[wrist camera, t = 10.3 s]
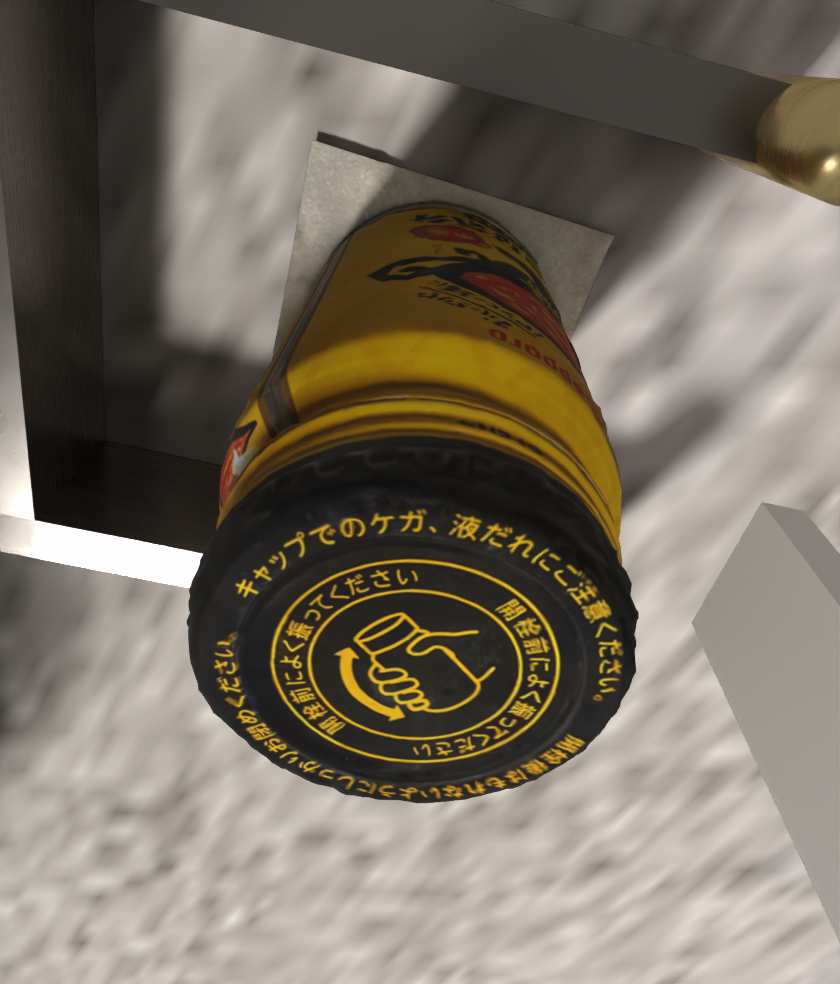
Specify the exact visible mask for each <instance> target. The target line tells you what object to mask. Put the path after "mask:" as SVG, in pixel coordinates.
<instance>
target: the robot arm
mask: <svg viewBox="0 0 840 984" xmlns="http://www.w3.org/2000/svg"><path fill="white" fill-rule="evenodd" d="M692 625H693V627H694V629H695V631H696V633H697V635H698V638H699V640H700V642H701V644H702V646H703V648H704V651H705V653H706V655H707V657H708V659H709V661H710V663H711V666H712V668H713V670H714V672H715V674H716V676H717V679H718V681H719V683H720V685H721V687H722V689H723V692H724V694H725V696H726V698H727V700H728V702H729V704H730V707H731V709H732V711H733V713H734V715H735V717H736V720H737V722H738V724H739V726H740V728H741V730H742V733H743V735H744V737H745V739H746V741H747V743H748V746H749V748H750V750H751V752H752V754H753V756H754V758H755V761H756V763H757V765H758V767H759V769H760V771H761V774H762V776H763V778H764V780H765V782H766V784H767V787H768V789H769V791H770V793H771V795H772V797H773V799H774V802H775V804H776V806H777V808H778V810H779V812H780V815H781V817H782V819H783V821H784V823H785V825H786V828H787V830H788V832H789V834H790V836H791V838H792V841H793V843H794V845H795V847H796V849H797V851H798V853H799V856H800V858H801V860H802V862H803V864H804V866H805V869H806V871H807V873H808V875H809V877H810V879H811V882H812V884H813V886H814V888H815V890H816V892H817V894H818V897H819V899H820V901H821V903H822V905H823V907H824V910H825V912H826V914H827V916H828V918H829V920H830V923H831V925H832V927H833V929H834V931H835V933H836V936H837V938H838V940H839V942H840V554H839V553H838V552H837V550H836V549H835V548H834V547H833V546H832V544H831V543H830V542H829V541H828V539H827V538H826V537H825V536H824V535H823V533H822V532H821V531H820V530H819V529H818V527H817V526H816V525H815V524H814V523H813V521H812V520H811V519H810V518H809V516H808V515H807V514H806V513H805V512H804V511H801V510H797V509H792V508H787V507H782V506H777V505H773V504H768V503H763V502H762V503H761V504H760V506H759V508H758V510H757V511H756V513H755V515H754V516H753V518H752V520H751V522H750V523H749V525H748V527H747V529H746V530H745V532H744V534H743V535H742V537H741V539H740V541H739V542H738V544H737V546H736V547H735V549H734V551H733V553H732V554H731V556H730V558H729V559H728V561H727V563H726V565H725V566H724V568H723V570H722V571H721V573H720V575H719V577H718V578H717V580H716V582H715V583H714V585H713V587H712V589H711V590H710V592H709V594H708V595H707V597H706V599H705V601H704V602H703V604H702V606H701V607H700V609H699V611H698V613H697V614H696V616H695V618H694V619H693V621H692Z"/></svg>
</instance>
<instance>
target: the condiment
mask: <svg viewBox="0 0 840 984" xmlns="http://www.w3.org/2000/svg"><path fill="white" fill-rule="evenodd" d="M614 237H615V236H613V235H610V234H607V233H604V232H601V231H598V230H594V229H591V228H588V227H585V226H582V225H579V224H576V223H572V222H569V221H567V220H565V219H561V218H558V217H554V216H551V215H548V214H545V213H542V212H539V211H536V210H533V209H530V208H527V207H524V206H521V205H518V204H515V203H511V202H508V201H505V200H502V199H499V198H496V197H493V196H490V195H487V194H483V193H480V192H477V191H474V190H471V189H467V188H464V187H461V186H458V185H454V184H451V183H448V182H445V181H442V180H438V179H435V178H432V177H429V176H426V175H423V174H420V173H416V172H413V171H410V170H407V169H404V168H400V167H397V166H394V165H391V164H389V163H384V162H378V161H376V160H373V159H370V158H367V157H364V156H361V155H358V154H355V153H351V152H348V151H345V150H342V149H339V148H336V147H333V146H330V145H326V144H323V143H320V142H317V141H314V140H312V142H311V148H310V153H309V159H308V165H307V171H306V176H305V182H304V188H303V193H302V199H301V205H300V211H299V217H298V223H297V228H296V233H295V238H294V243H293V250H292V256H291V262H290V267H289V272H288V278H287V283H286V287H285V295H284V300H283V305H282V310H281V315H280V319H279V326H278V331H277V336H276V340H275V345H274V352H273V358H272V362H271V363H270V365H269V367H268V369H267V370H266V372H265V373H264V376H263V377H262V379H261V380H260V382H259V384H258V385H257V387H256V388H255V390H254V392H253V393H252V395H251V396H250V397H249V399H248V400H247V404H246V406H245V408H244V410H243V412H242V414H241V415H240V417H239V418H238V420H237V421H236V424H235V427H234V430H233V432H232V434H231V437H230V444H229V447H228V450H227V452H226V455H225V458H224V462H223V466H222V469H221V479H220V486H219V487H220V500H219V507H220V515H219V518H218V521H217V527H216V531H215V533H214V535H213V537H212V540H211V542H210V544H209V545H208V547H207V549H206V550H205V552H204V553H203V555H202V557H201V558H200V564H199V567H198V569H197V571H196V574H195V576H194V578H193V580H192V582H191V586H190V589H189V592H190V599H189V611H190V615H189V617H188V619H187V625H188V627H189V629H188V640H189V654H190V661H191V665H192V668H193V671H194V674H195V677H196V680H197V683H198V689H199V691H200V692H201V693H202V694H203V696H204V698H205V699H206V701H207V702H208V704H209V705H210V707H211V709H212V711H213V713H214V714H216V715H217V716H218V717H220V718H221V719H222V720H223V721H224V722H225V723H226V724H227V725H228V726H229V727H230V728H232V729H233V730H234V731H235V732H236V733H237V734H238V735H239V736H240V737H242V738H243V739H245V740H246V741H247V742H248V744H249V745H250V746H251V747H252V748H254V749H255V750H257V751H258V752H259V753H261V754H262V755H264V756H265V757H267V758H268V759H269V760H270V761H271V762H272V763H274V764H276V765H277V766H279V767H280V768H283V769H287V770H288V771H290V772H292V773H294V774H296V775H298V776H300V777H302V778H304V779H306V780H308V781H310V782H312V783H315V784H318V785H324V786H328V787H333V788H335V789H336V790H337V791H339V792H341V793H343V794H345V795H355V796H360V797H370V798H374V799H379V800H402V801H409V802H414V803H434V802H446V801H454V800H465V799H469V798H472V797H477V796H482V795H485V794H489V793H493V792H498V791H501V790H504V789H513V788H516V787H519V786H521V785H523V784H524V783H526V782H529V781H533V780H536V779H538V778H539V777H541V776H542V775H544V774H546V773H548V772H550V771H551V770H553V769H555V768H556V767H558V766H560V765H562V764H564V763H565V762H567V761H568V760H570V759H572V758H573V757H575V756H576V755H578V754H580V753H581V752H583V751H584V750H585V749H586V748H587V746H588V745H589V744H590V743H591V742H592V741H593V740H594V739H595V738H596V737H597V736H598V735H599V734H600V733H601V731H602V730H603V729H604V728H605V726H606V724H607V723H608V721H609V720H610V719H611V717H613V716H614V715H615V714H616V712H617V711H618V709H619V707H620V703H621V700H622V699H623V697H624V696H625V694H626V692H627V691H628V689H629V687H630V684H631V681H632V678H633V676H634V674H635V673H636V664H635V648H636V639H635V636H634V633H635V629H636V622H637V619H638V611H637V610H636V608H635V605H634V603H633V601H632V598H631V596H630V593H631V585H632V583H631V581H630V579H629V577H628V575H627V572H626V571H625V569H624V568H623V567H622V557H621V547H620V543H619V534H620V523H621V496H622V489H621V485H620V474H619V469H618V465H617V461H616V458H615V455H614V452H613V449H612V447H611V445H610V442H609V439H608V436H607V428H606V423H605V421H604V419H603V417H602V413H601V409H600V407H599V406H598V405H597V404H596V403H595V402H594V401H593V399H592V396H591V393H590V390H589V388H588V386H587V383H586V380H585V378H584V376H583V374H582V371H581V366H580V362H579V359H578V357H577V354H576V352H575V350H574V347H573V345H572V343H571V342H570V337H571V335H572V333H573V331H574V328H575V326H576V323H577V321H578V318H579V316H580V314H581V311H582V309H583V306H584V304H585V302H586V300H587V298H588V296H589V294H590V291H591V289H592V286H593V283H594V280H595V278H596V276H597V274H598V271H599V269H600V266H601V264H602V262H603V260H604V258H605V255H606V253H607V251H608V249H609V247H610V245H611V243H612V241H613V239H614Z"/></svg>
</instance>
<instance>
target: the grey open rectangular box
mask: <svg viewBox="0 0 840 984" xmlns="http://www.w3.org/2000/svg"><path fill="white" fill-rule="evenodd" d="M140 1H143V2H147V3H151V4H155V5H159V6H162V7H166V8H170V9H174V10H177V11H181V12H185V13H189V14H193V15H196V16H200V17H204V18H208V19H212V20H215V21H219V22H223V23H227V24H230V25H234V26H238V27H242V28H246V29H249V30H253V31H257V32H261V33H265V34H268V35H272V36H276V37H280V38H283V39H287V40H291V41H295V42H299V43H302V44H306V45H310V46H314V47H318V48H321V49H325V50H329V51H333V52H336V53H340V54H344V55H348V56H352V57H355V58H359V59H363V60H367V61H371V62H374V63H378V64H382V65H386V66H390V67H393V68H397V69H401V70H405V71H408V72H412V73H416V74H420V75H424V76H427V77H431V78H435V79H439V80H443V81H446V82H450V83H454V84H458V85H461V86H465V87H469V88H473V89H477V90H480V91H484V92H488V93H492V94H496V95H499V96H503V97H507V98H511V99H514V100H518V101H522V102H526V103H530V104H533V105H537V106H541V107H545V108H549V109H552V110H556V111H560V112H564V113H567V114H571V115H575V116H579V117H583V118H586V119H590V120H594V121H598V122H602V123H605V124H609V125H613V126H617V127H620V128H624V129H628V130H632V131H636V132H639V133H643V134H647V135H651V136H655V137H658V138H662V139H666V140H670V141H674V142H677V143H681V144H685V145H689V146H692V147H696V148H697V149H699V150H700V151H702V152H704V153H706V154H708V155H711V156H713V157H716V158H718V159H721V160H723V161H726V162H728V163H730V164H733V165H735V166H738V167H740V168H743V169H745V170H748V171H750V172H753V173H755V174H757V175H760V176H762V177H765V178H767V179H770V180H772V181H775V182H777V183H780V184H782V185H784V186H787V187H789V188H792V189H794V190H797V191H799V192H802V193H804V194H807V195H809V196H811V197H814V198H816V199H819V200H821V201H824V202H826V203H829V204H832V205H836V206H840V79H835V78H821V77H807V76H794V75H780V74H766V73H752V72H746V71H742V70H738V69H735V68H731V67H727V66H724V65H720V64H717V63H713V62H709V61H706V60H702V59H698V58H695V57H691V56H688V55H684V54H680V53H677V52H673V51H669V50H666V49H662V48H659V47H655V46H651V45H648V44H644V43H640V42H637V41H633V40H630V39H626V38H622V37H619V36H615V35H611V34H608V33H604V32H601V31H597V30H593V29H590V28H586V27H582V26H579V25H575V24H572V23H568V22H564V21H561V20H557V19H553V18H550V17H546V16H543V15H539V14H535V13H532V12H528V11H524V10H521V9H517V8H514V7H510V6H506V5H503V4H499V3H495V2H492V1H488V0H140ZM221 469H222V466H221V465H216V464H211V463H206V462H202V461H197V460H192V459H187V458H182V457H178V456H173V455H168V454H163V453H159V452H154V451H149V450H144V449H140V448H135V447H130V446H125V445H120V444H116V443H111V442H106V441H105V424H104V387H103V351H102V314H101V277H100V241H99V204H98V168H97V131H96V94H95V58H94V21H93V0H0V551H1V552H6V553H11V554H17V555H22V556H27V557H32V558H37V559H42V560H48V561H53V562H58V563H63V564H68V565H73V566H78V567H84V568H89V569H94V570H99V571H104V572H109V573H115V574H120V575H125V576H130V577H135V578H140V579H146V580H151V581H156V582H161V583H166V584H171V585H176V586H182V587H187V588H190V586H191V582H192V580H193V578H194V576H195V574H196V571H197V569H198V567H199V564H200V558H201V557H202V555H203V553H204V552H205V550H206V549H207V547H208V545H209V544H210V542H211V540H212V537H213V535H214V533H215V531H216V527H217V521H218V518H219V515H220V507H219V500H220V487H219V486H220V479H221Z"/></svg>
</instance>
